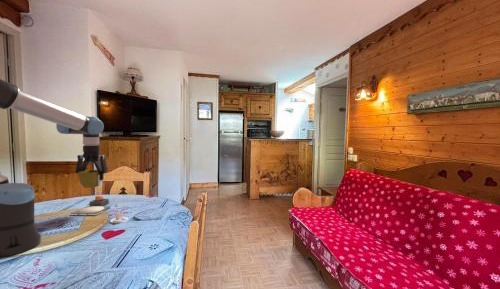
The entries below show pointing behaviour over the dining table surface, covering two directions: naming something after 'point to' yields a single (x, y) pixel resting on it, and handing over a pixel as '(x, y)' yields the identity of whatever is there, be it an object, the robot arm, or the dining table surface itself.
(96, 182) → the flower pot
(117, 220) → the teacup and saucer
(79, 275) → the dining table surface
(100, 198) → the button
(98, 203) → the button housing
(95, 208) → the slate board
